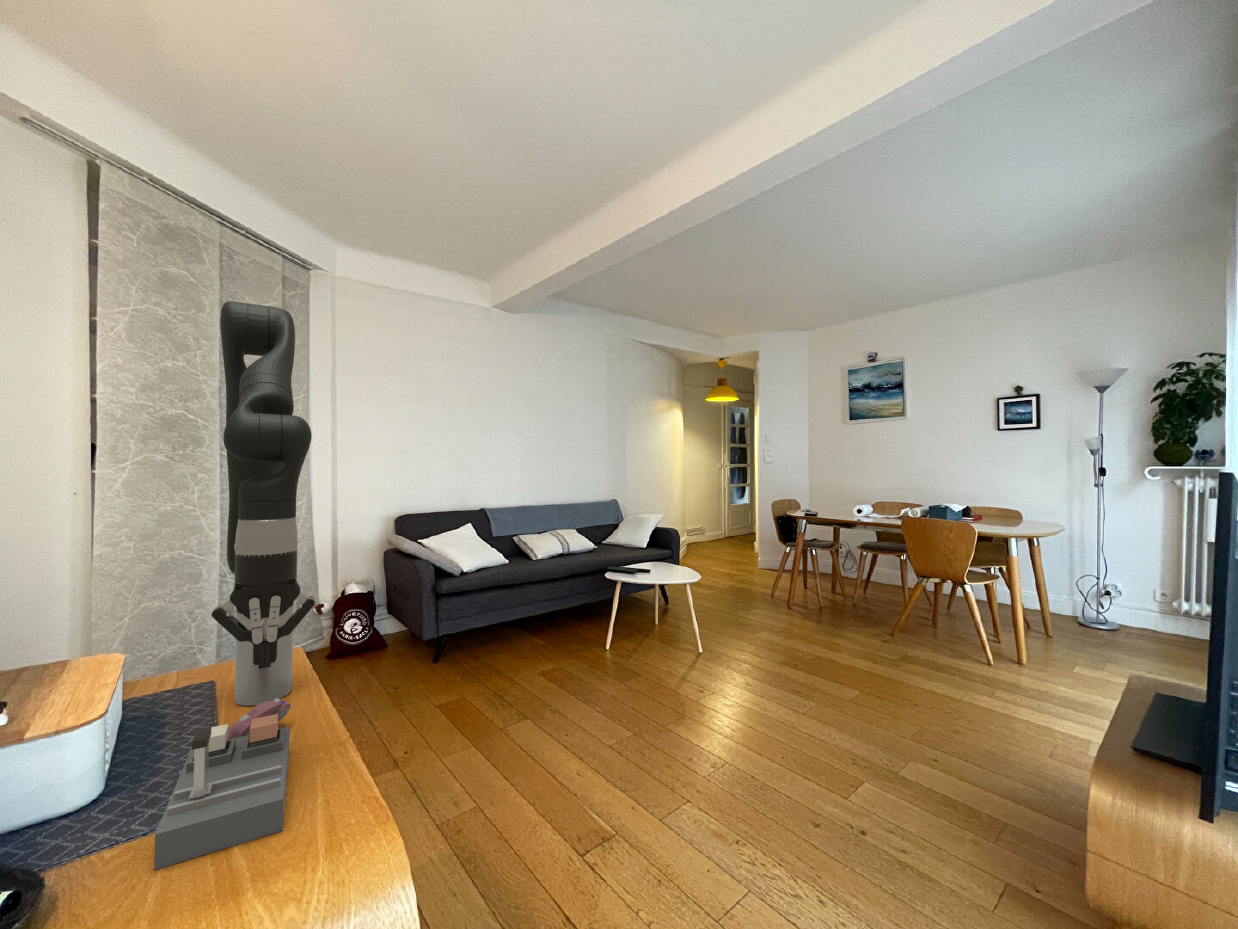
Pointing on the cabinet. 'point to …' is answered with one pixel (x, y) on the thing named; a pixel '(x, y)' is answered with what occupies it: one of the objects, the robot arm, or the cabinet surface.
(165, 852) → the control panel
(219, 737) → the cream button
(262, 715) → the video game controller
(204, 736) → the slide paddle
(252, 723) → the terracotta button
